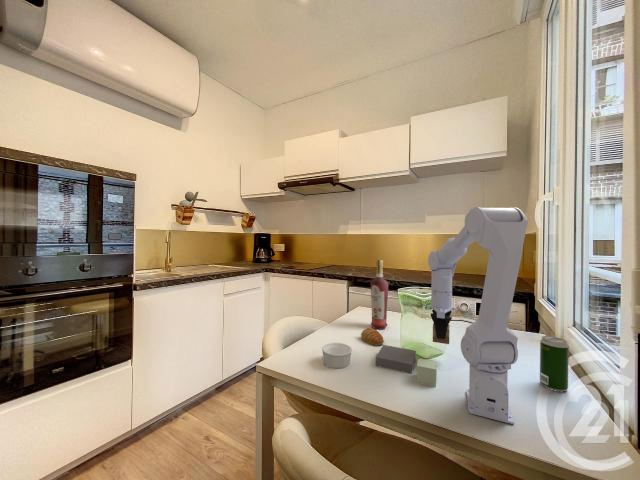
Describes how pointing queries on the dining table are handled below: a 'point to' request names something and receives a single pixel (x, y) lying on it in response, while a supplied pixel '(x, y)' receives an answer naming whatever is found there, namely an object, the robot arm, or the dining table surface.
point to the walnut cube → (444, 341)
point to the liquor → (379, 298)
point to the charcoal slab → (396, 358)
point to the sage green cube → (427, 372)
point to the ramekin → (336, 355)
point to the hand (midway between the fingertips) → (441, 335)
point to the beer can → (554, 363)
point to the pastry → (372, 337)
